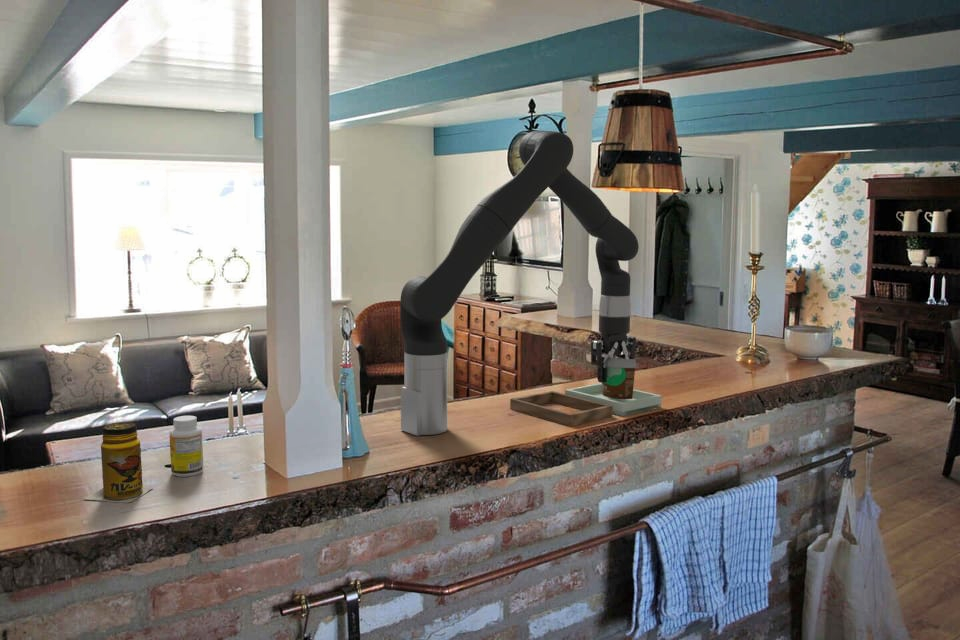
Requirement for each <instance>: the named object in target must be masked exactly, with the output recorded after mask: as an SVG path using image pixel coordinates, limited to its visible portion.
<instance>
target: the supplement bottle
mask: <svg viewBox="0 0 960 640" xmlns="http://www.w3.org/2000/svg"><path fill="white" fill-rule="evenodd" d="M172 420H173V424H172V425H173V428H171V429H170V430H169V452H170V468H171V469H170V470H171V471H170V472H171V474H172V475H174V476H175V477H180V478H181V477H182V478H189V477H193V476H196V475H199V474H201V473H202V472H203V471H204V449H203V448H204V446H203V430H202V428H201V427H200V426H198V421H197V416H196V415H195V416H194V415H181V416H176V417H174V418H173V419H172Z"/></svg>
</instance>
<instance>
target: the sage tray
mask: <svg viewBox="0 0 960 640" xmlns="http://www.w3.org/2000/svg"><path fill="white" fill-rule="evenodd" d="M564 394H566V395H570V396H574V397H578V398H582V399H586V400H590V401H594V402H598V403H602V404H606V405H610V406H613V407H612V415H615V416H619V417H627V416H631V415H635V414H640V413H645V412H649V411H652V410H651V409H653V410H655V409H654V408H658V409H660V408H659V407H661V408H662V395H661V394H655V393H652V392H646V391H642V390H639V389H634V388H633V397H632V399H614V398H608V397H605V396H603V395H602V383H601V382H599V383H593V384H590V385H583V386H579V387H571V388H567V389H565V390H564ZM648 410H649V411H648Z"/></svg>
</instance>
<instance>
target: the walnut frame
mask: <svg viewBox="0 0 960 640" xmlns="http://www.w3.org/2000/svg"><path fill="white" fill-rule="evenodd" d="M509 401H510V402H509V403H510V405H509V407H510V408H509V410H511V411H516V412H519V413H523V414H526V415H529V416H533V417H537V418H540V419H542V420H547V421H551V422H553V423H558V424H560V425H563V426H568V427H573V426H578V425H581V424H586V423H591V422H594V421H599V420H604V419H607V418H612V417H613V414H612V407H613V406H610V405H606V404H602V403H598V402H594V401H590V400H586V399H582V398H578V397H574V396H570V395H566V394H565V393H563V392H558V391H554V390H551V391H546V392H545V391H544V392H540V393H536V394H535V393H534V394H528V395H523V396H518V397H514V398H510V399H509ZM550 403H554V404H559V405H561V406H562V405H563V406H565V407H568V408H573V409H576V410H580V411H577V412H572V413H569V412H565V411H562V410H558V409H553V408H550V407H547V406H542V405H545V404H550Z"/></svg>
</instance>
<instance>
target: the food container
mask: <svg viewBox="0 0 960 640" xmlns="http://www.w3.org/2000/svg"><path fill="white" fill-rule="evenodd" d="M604 354H605V352H604ZM605 355H606V354H605ZM602 362H604V359H603V361H602ZM606 368H607V382H606V383H602V395H603V396H605V397H608V398H614V399H632V397H633V389H634V384H635V374H636V372H635V371H636V369H637V368H638V367H637V359H636V358H635V359H626V358H624V357H617V356H616V355H614V356H612V358H611V359H610V360H608V364H607V367H606Z"/></svg>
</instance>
